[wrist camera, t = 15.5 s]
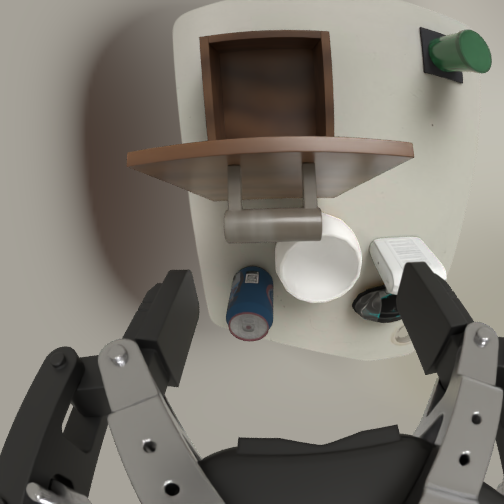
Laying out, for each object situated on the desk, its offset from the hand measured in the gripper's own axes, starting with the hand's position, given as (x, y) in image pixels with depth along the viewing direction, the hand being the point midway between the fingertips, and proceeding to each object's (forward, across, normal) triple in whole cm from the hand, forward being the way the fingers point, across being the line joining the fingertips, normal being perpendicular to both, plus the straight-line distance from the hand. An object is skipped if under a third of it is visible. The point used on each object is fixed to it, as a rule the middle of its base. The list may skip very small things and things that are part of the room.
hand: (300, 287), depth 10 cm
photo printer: (+32, -20, +16) cm, 41 cm away
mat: (+32, -27, -17) cm, 45 cm away
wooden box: (+32, +1, -6) cm, 33 cm away
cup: (+32, -5, +14) cm, 36 cm away
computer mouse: (+32, -21, +28) cm, 47 cm away
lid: (+14, +1, 0) cm, 15 cm away
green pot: (+32, -27, -17) cm, 45 cm away
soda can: (+32, +5, +22) cm, 40 cm away
